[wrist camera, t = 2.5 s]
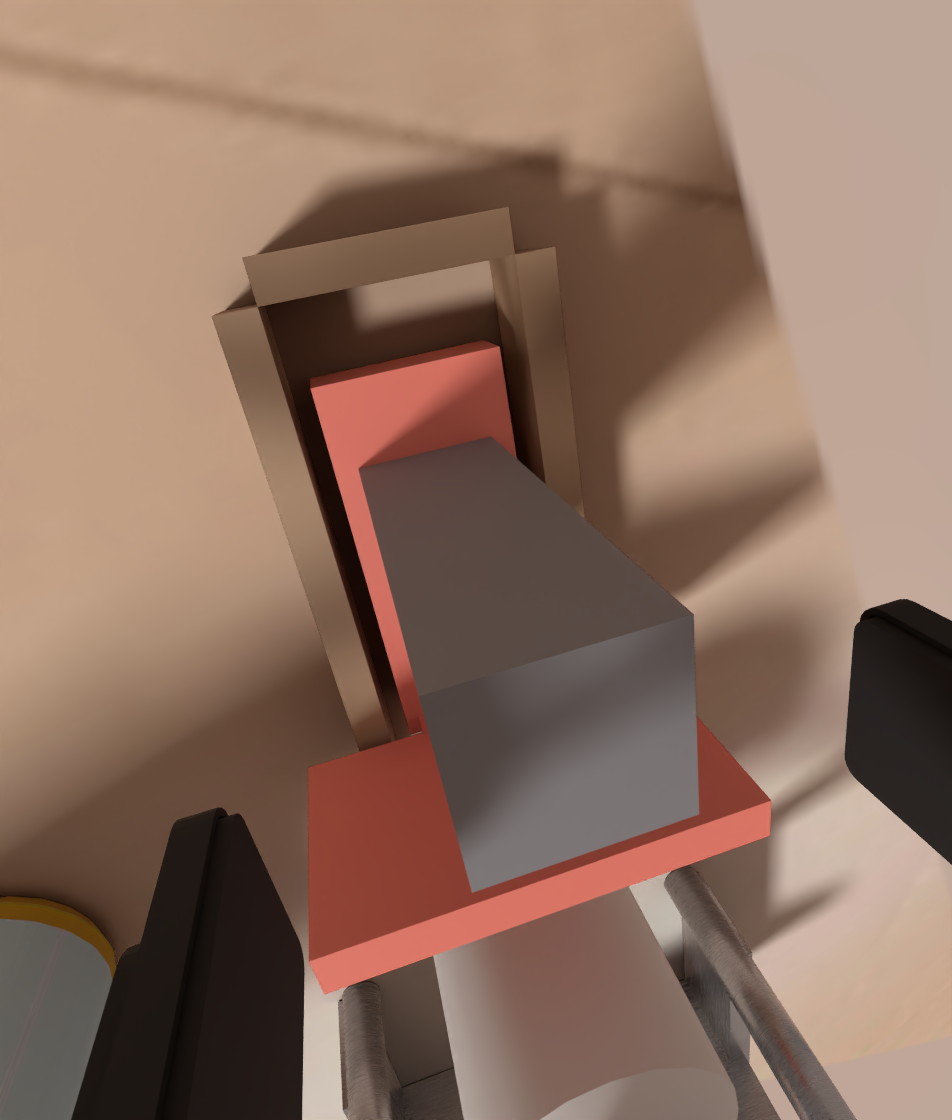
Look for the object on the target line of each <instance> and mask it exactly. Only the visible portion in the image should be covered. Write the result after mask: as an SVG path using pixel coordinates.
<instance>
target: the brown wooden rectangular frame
mask: <svg viewBox="0 0 952 1120" xmlns="http://www.w3.org/2000/svg"><path fill="white" fill-rule="evenodd" d="M486 260H489V261H490V267H491V274H492V280H493V287H494V294H495V300H496V307H497V313H498V320H499V327H500V333H501V340H502V346H503V353H504V360H505V366H506V373H507V379H508V386H509V393H510V399H511V406H512V412H513V419H514V426H515V432H516V439H517V445H518V452H519V459H520V462H521V463H522V464H523V465H524V466H525V467H527V468H528V469H529V470H530V471H531V472H532V473H533V474H535V475H536V476H537V477H538V478H539V479H540V480H541V481H543V482H544V483H545V484H546V485H547V486H548V487H549V488H550V489H552V490H553V491H554V492H555V493H556V494H557V495H558V496H560V497H561V498H562V499H563V500H564V501H565V502H566V503H568V504H569V505H570V506H571V507H572V508H573V509H574V510H575V511H577V512H578V513H579V514H580V515H581V516H582V517H583V518H585V516H584V507H583V498H582V488H581V479H580V470H579V461H578V452H577V443H576V433H575V424H574V415H573V406H572V397H571V387H570V378H569V369H568V360H567V351H566V341H565V332H564V323H563V314H562V305H561V296H560V286H559V277H558V268H557V259H556V250H555V247H547V248H537V249H528V250H522V251H517V252H515V251H514V244H513V236H512V229H511V221H510V214H509V207H504V208H499V209H493V210H488V211H483V212H478V213H473V214H467V215H462V216H457V217H452V218H446V219H441V220H436V221H431V222H426V223H420V224H415V225H410V226H405V227H399V228H394V229H389V230H384V231H379V232H373V233H368V234H363V235H358V236H352V237H347V238H342V239H337V240H332V241H326V242H321V243H316V244H311V245H306V246H300V247H295V248H290V249H285V250H279V251H274V252H269V253H264V254H259V255H253V256H248V257H243V262H244V265H245V268H246V271H247V275H248V278H249V281H250V284H251V288H252V291H253V294H254V297H255V301H256V304H255V305H250V306H245V307H240V308H235V309H230V310H225V311H222V312H220V313H218V314H216V315H213V316H212V319H213V322H214V325H215V328H216V331H217V334H218V337H219V340H220V343H221V346H222V348H223V351H224V354H225V357H226V360H227V363H228V366H229V369H230V372H231V375H232V378H233V381H234V384H235V387H236V390H237V393H238V395H239V398H240V401H241V404H242V407H243V410H244V413H245V416H246V419H247V422H248V425H249V428H250V431H251V434H252V437H253V440H254V442H255V445H256V448H257V451H258V454H259V457H260V460H261V463H262V466H263V469H264V472H265V475H266V478H267V481H268V484H269V487H270V489H271V492H272V495H273V498H274V501H275V504H276V507H277V510H278V513H279V516H280V519H281V522H282V525H283V528H284V531H285V534H286V536H287V539H288V542H289V545H290V548H291V551H292V554H293V557H294V560H295V563H296V566H297V569H298V572H299V575H300V578H301V581H302V583H303V586H304V589H305V592H306V595H307V598H308V601H309V604H310V607H311V610H312V613H313V616H314V619H315V622H316V625H317V628H318V630H319V633H320V636H321V639H322V642H323V645H324V648H325V651H326V654H327V657H328V660H329V663H330V666H331V669H332V672H333V675H334V677H335V680H336V683H337V686H338V689H339V692H340V695H341V698H342V701H343V704H344V707H345V710H346V713H347V716H348V719H349V722H350V724H351V727H352V730H353V733H354V736H355V739H356V742H357V745H358V748H359V751H360V752H361V751H364V750H367V749H371V748H374V747H377V746H380V745H384V744H387V743H390V742H393V741H397V740H396V737H395V733H394V730H393V727H392V724H391V720H390V717H389V714H388V710H387V707H386V704H385V700H384V697H383V694H382V691H381V687H380V684H379V681H378V677H377V674H376V671H375V667H374V664H373V661H372V658H371V654H370V651H369V648H368V644H367V641H366V638H365V635H364V631H363V628H362V625H361V621H360V618H359V615H358V611H357V608H356V605H355V602H354V598H353V595H352V592H351V588H350V585H349V582H348V578H347V575H346V572H345V569H344V565H343V562H342V559H341V555H340V552H339V549H338V545H337V542H336V539H335V536H334V532H333V529H332V526H331V522H330V519H329V516H328V512H327V509H326V506H325V503H324V499H323V496H322V493H321V489H320V486H319V483H318V479H317V476H316V473H315V470H314V466H313V463H312V460H311V456H310V453H309V450H308V447H307V443H306V440H305V437H304V433H303V430H302V427H301V423H300V420H299V417H298V414H297V410H296V407H295V404H294V400H293V397H292V394H291V390H290V387H289V384H288V381H287V377H286V374H285V371H284V367H283V364H282V361H281V357H280V354H279V351H278V348H277V344H276V341H275V338H274V334H273V331H272V328H271V324H270V321H269V318H268V315H267V311H266V308H265V305H270V304H275V303H280V302H284V301H289V300H294V299H299V298H304V297H309V296H314V295H319V294H324V293H329V292H334V291H339V290H344V289H349V288H353V287H358V286H363V285H368V284H373V283H378V282H383V281H388V280H393V279H398V278H403V277H408V276H413V275H418V274H422V273H427V272H432V271H437V270H442V269H447V268H452V267H457V266H462V265H467V264H472V263H477V262H482V261H486Z"/></svg>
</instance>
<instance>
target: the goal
mask: <svg viewBox="0 0 952 1120" xmlns="http://www.w3.org/2000/svg"><path fill="white" fill-rule="evenodd" d="M664 886H665V889H666V890H667V892H668V894H669V895H670V897H671V899H672V901H673V902H674V904H675V906H676V907H677V909H678V911H679V913H680V914H681V916H682V929H683V949H684V969H685V980H682V981H679V983H680V985H681V987H682V989H683V991H684V993H685V994H686V996H687V998H688V1000H689V1002H690V1004H691V1006H692V1008H693V1010H694V1012H695V1013H696V1015H697V1017H698V1019H699V1021H700V1023H701V1025H702V1027H703V1029H704V1031H705V1032H706V1034H707V1036H708V1038H709V1040H710V1042H711V1044H712V1046H713V1048H714V1049H715V1051H716V1053H717V1055H718V1057H719V1059H720V1061H721V1063H722V1065H723V1067H724V1068H725V1070H726V1072H727V1074H728V1076H729V1078H730V1080H731V1082H732V1084H733V1086H734V1087H735V1091H736V1097H737V1102H738V1108H739V1109H738V1117H737V1120H781V1119H780V1118H779V1116H778V1114H777V1112H776V1111H775V1109H774V1107H773V1105H772V1104H771V1102H770V1100H769V1098H768V1096H767V1094H766V1093H765V1091H764V1089H763V1087H762V1086H761V1084H760V1082H759V1080H758V1078H757V1077H756V1075H755V1073H754V1071H753V1070H752V1068H751V1066H750V1064H749V1052H750V1034H751V1036H752V1038H753V1039H754V1041H755V1043H756V1044H757V1046H758V1048H759V1049H760V1051H761V1053H762V1055H763V1056H764V1058H765V1060H766V1061H767V1063H768V1065H769V1067H770V1068H771V1070H772V1072H773V1073H774V1075H775V1077H776V1079H777V1080H778V1082H779V1084H780V1085H781V1087H782V1089H783V1091H784V1092H785V1094H786V1095H787V1097H788V1099H789V1101H790V1102H791V1104H792V1106H793V1107H794V1109H795V1111H796V1113H797V1115H798V1116H799V1118H800V1120H857V1119H856V1118H855V1116H854V1115H853V1113H852V1112H851V1110H850V1109H849V1107H848V1106H847V1104H846V1103H845V1101H844V1100H843V1098H842V1096H841V1095H840V1093H839V1092H838V1090H837V1089H836V1087H835V1086H834V1084H833V1083H832V1081H831V1079H830V1078H829V1076H828V1075H827V1073H826V1072H825V1070H824V1069H823V1067H822V1066H821V1064H820V1063H819V1061H818V1059H817V1058H816V1056H815V1055H814V1053H813V1052H812V1050H811V1049H810V1047H809V1046H808V1044H807V1043H806V1041H805V1039H804V1038H803V1036H802V1035H801V1033H800V1032H799V1030H798V1029H797V1027H796V1026H795V1024H794V1023H793V1021H792V1019H791V1018H790V1016H789V1015H788V1013H787V1012H786V1010H785V1009H784V1007H783V1006H782V1004H781V1003H780V1001H779V1000H778V998H777V996H776V995H775V993H774V992H773V990H772V989H771V987H770V986H769V984H768V983H767V981H766V980H765V978H764V976H763V975H762V973H761V972H760V970H759V969H758V967H757V966H756V964H755V963H754V961H753V960H752V952H751V950H750V949H749V947H748V946H747V944H746V943H745V941H744V940H743V938H742V937H741V935H740V934H739V932H738V930H737V929H736V927H735V926H734V924H733V923H732V921H731V920H730V918H729V917H728V915H727V914H726V912H725V911H724V909H723V908H722V906H721V905H720V903H719V902H718V900H717V898H716V897H715V895H714V894H713V892H712V891H711V889H710V888H709V886H708V885H707V883H706V882H705V880H704V879H703V877H702V876H701V874H700V873H696V872H695V870H694V869H693V868H691V867H681V868H678V869H676V870H674V871H673V872H672V873H670V874H669V875H668V877H667V878H666V880H665V883H664ZM338 1009H339V1032H340V1055H341V1078H342V1101H343V1111H344V1113H345V1115H346V1117H347V1119H348V1120H464V1117H463V1112H462V1106H461V1101H460V1096H459V1090H458V1085H457V1080H456V1074H455V1069H454V1068H452V1069H450V1070H447V1071H445V1072H442V1073H439V1074H437V1075H434V1076H432V1077H429V1078H426V1079H424V1080H421V1081H419V1082H416V1083H413V1084H411V1085H408V1086H406V1087H403V1088H402V1087H401V1085H400V1082H399V1080H398V1078H397V1076H396V1073H395V1071H394V1069H393V1066H392V1064H391V1062H390V1060H389V1057H388V1055H387V1053H386V1050H385V1040H384V1030H383V1020H382V1011H381V1001H380V991H379V987H378V986H377V985H376V984H375V983H373V982H359V983H356V984H353V985H351V986H350V987H348V988H347V989H346V990H345V991H344V993H343V995H342V1001H340V1002H338Z"/></svg>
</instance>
